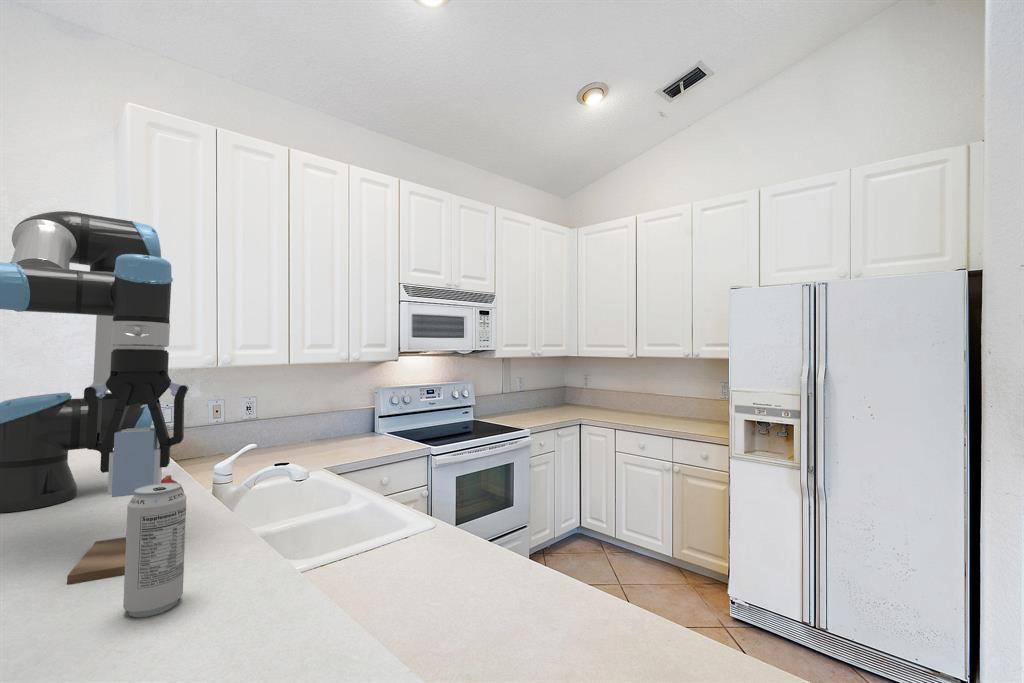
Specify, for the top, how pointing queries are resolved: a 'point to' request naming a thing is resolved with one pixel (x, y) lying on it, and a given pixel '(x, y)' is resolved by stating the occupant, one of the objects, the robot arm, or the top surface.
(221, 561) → the top surface
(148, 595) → the energy drink can
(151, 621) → the top surface
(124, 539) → the board
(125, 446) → the block
